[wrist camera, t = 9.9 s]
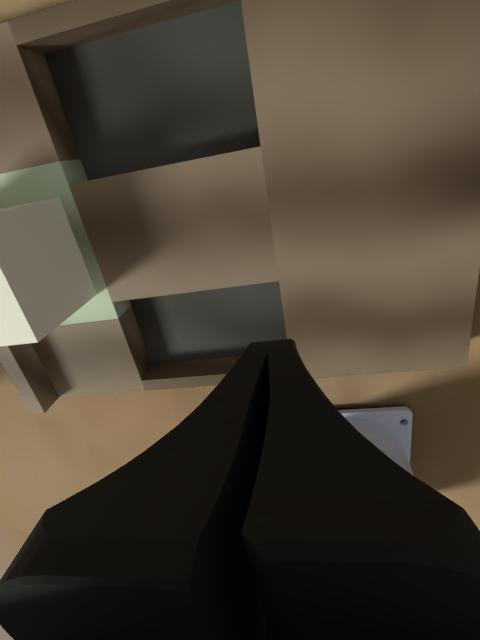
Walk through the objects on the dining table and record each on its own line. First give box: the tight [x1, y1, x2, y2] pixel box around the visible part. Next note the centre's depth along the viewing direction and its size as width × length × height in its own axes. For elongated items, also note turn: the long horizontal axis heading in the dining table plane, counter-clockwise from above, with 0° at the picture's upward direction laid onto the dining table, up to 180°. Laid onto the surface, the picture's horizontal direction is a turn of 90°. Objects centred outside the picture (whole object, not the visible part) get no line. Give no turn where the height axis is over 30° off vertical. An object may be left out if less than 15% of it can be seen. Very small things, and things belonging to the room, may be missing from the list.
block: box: [0, 198, 97, 346], centre depth 16 cm, size 5×5×5 cm
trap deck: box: [0, 0, 480, 414], centre depth 16 cm, size 18×25×4 cm
